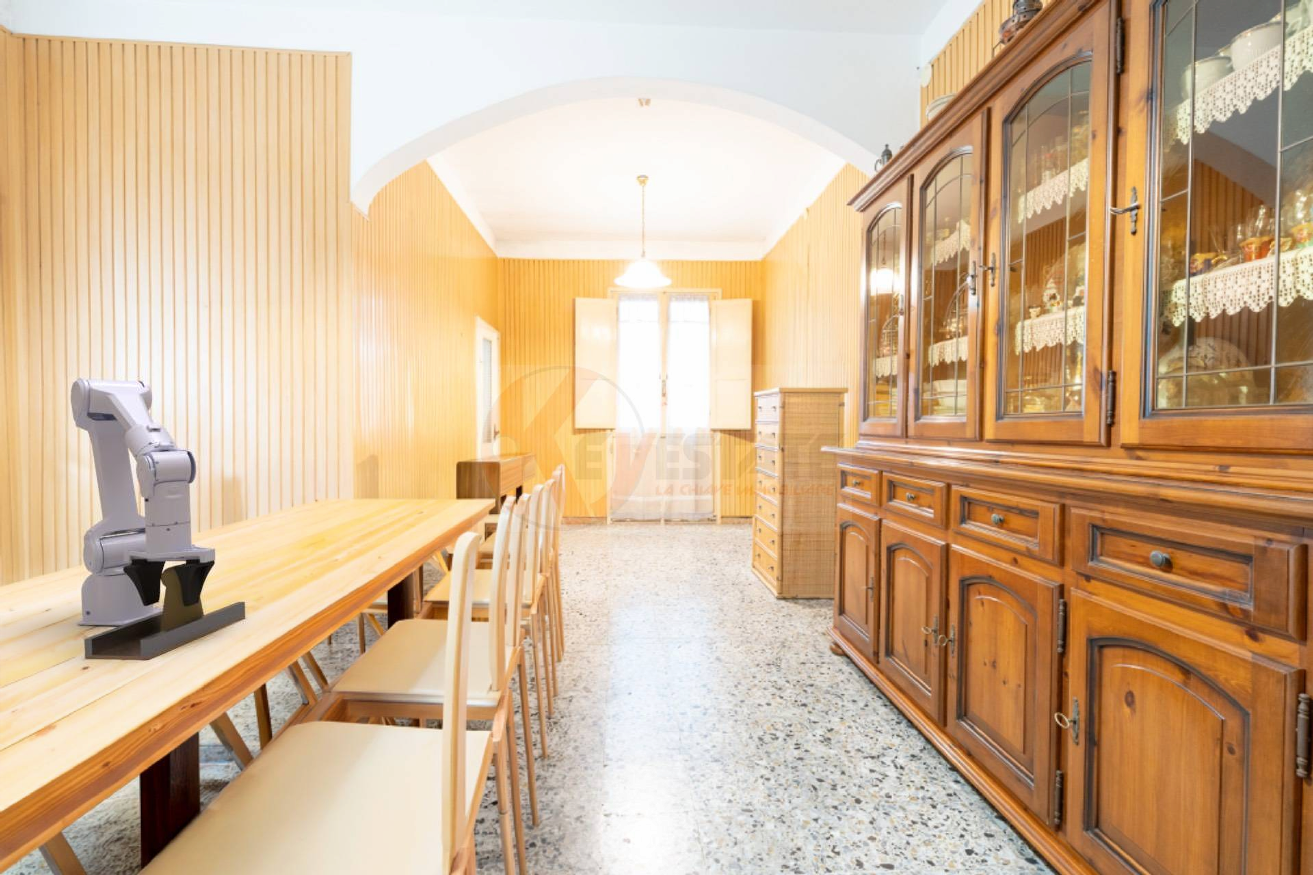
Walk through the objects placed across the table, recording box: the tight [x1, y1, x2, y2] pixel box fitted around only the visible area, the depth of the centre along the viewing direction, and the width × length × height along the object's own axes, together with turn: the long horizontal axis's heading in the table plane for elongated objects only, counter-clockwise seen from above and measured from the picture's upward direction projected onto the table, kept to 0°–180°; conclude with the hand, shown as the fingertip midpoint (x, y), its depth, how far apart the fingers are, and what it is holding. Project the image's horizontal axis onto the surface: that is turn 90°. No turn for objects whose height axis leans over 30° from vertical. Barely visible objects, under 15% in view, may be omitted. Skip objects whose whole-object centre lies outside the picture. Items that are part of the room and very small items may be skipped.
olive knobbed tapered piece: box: [160, 564, 205, 632], centre depth 95 cm, size 6×6×11 cm
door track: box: [83, 601, 246, 661], centre depth 93 cm, size 10×18×3 cm, turn 176°
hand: (171, 604), depth 93 cm, fingers open, 7 cm apart
